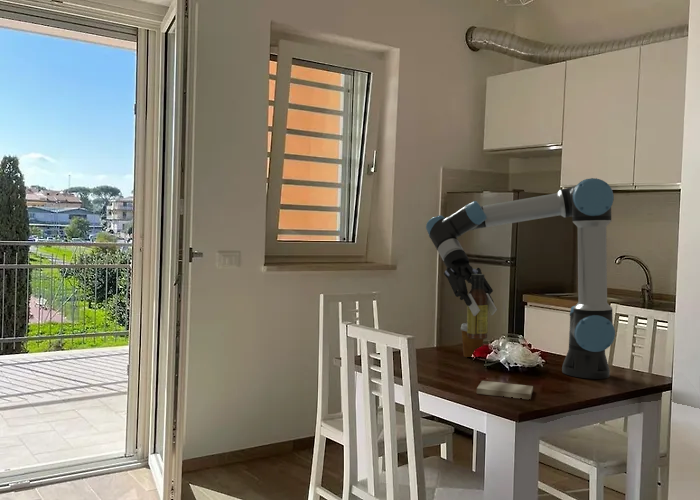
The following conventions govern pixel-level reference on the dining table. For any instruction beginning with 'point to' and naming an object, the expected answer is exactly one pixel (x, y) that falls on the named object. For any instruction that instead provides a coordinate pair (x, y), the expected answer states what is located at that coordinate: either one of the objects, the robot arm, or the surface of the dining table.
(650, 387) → the dining table surface
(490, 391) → the birch board
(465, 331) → the disposable coffee cup
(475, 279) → the sauce bottle
